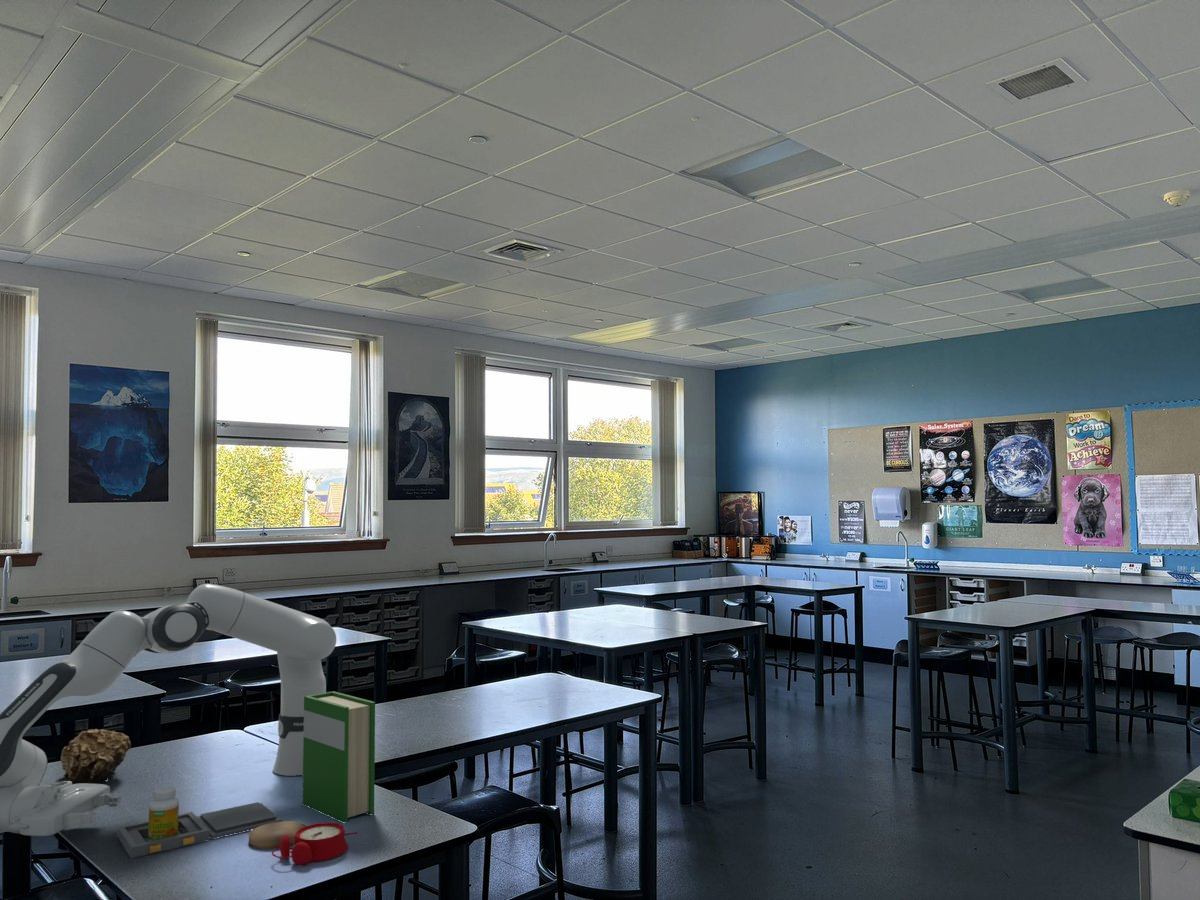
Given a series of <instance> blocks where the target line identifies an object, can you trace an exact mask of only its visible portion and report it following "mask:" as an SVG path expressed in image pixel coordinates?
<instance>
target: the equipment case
mask: <svg viewBox="0 0 1200 900" xmlns="http://www.w3.org/2000/svg"><path fill="white" fill-rule="evenodd" d="M281 821H283V819H282V818H281V817H280V816H279V815H277V814H276V813H275V812H274V811H272V810H271V809H270V808H269V807H267V806H266V805H264V804H263V803H262V802H258V801H256V802H252V803H248V804H244V805H243V804H242V805H239V806H233V807H229V808H224V809H219V810H214V811H210V812H205V813H201V814H200V815H197V816H196V814H195V813H194V812H193V811H188V812H184V813H179V817H178V828H181V829H180V830H181V832H182V831H183V832H184V833H183V832H182V833H178V835H174V836H169V837H165V838H160V839H156V840H151V841H149V840H148V841H146V840H145V839H144V837H146V836H145V835H148V833H149V820H146V821H141V822H137V823H132V824H127V825H122V826H118V827H117V838H118V840H119V841H120V843H121V844H122V846H123V848H124V849H125V850H126V852H127V853H128V855H129V856H130V858H131V859H134V858H140V857H143V856H147V855H148V856H149V855H151V854H156V853H161V852H164V851H169V850H174V849H177V848H183V847H186V846H187V847H188V846H191V845H195V844H194V843H196V844H199V843H198V842H200V843H203V842H202V841H204V842H207V841H206V840H209V841H210V839H211V838H212V839H213V840H215V839H214V838H217V837H221V836H225V835H230V834H234V833H239V832H243V831H247V830H251V829H255V828H257V827H259V826H262V825H265V824H269V823H274V822H281ZM243 833H244V832H243ZM239 834H240V833H239ZM142 836H144V837H142ZM209 836H210V837H211V838H210V837H209ZM230 836H231V835H230ZM212 839H211V840H212ZM217 839H218V838H217ZM190 844H191V845H190Z"/></svg>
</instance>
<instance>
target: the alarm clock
mask: <svg viewBox="0 0 1200 900" xmlns="http://www.w3.org/2000/svg"><path fill="white" fill-rule="evenodd" d="M357 834H358V832H357V831H355V832H348V833H346V829H345V826H344V825H343V824H340V823H337V822H321V823H320V822H319V823H313V824H309V825H306V827H303V828H301V829H300V830H298V831H297V832H296V835H295V844H294V845H293V847H291V846H290V841H289V836H288V834H287V835H284V836H283V837H282V838H281V841H280V846H279V847H277V848H276V849H273V850H272V851H271V855H272V856H273V857H274V858H277V859H291V861H292V862H293V863H294V864H295V865H296V864H297V866H299V865H304V866H306V865H309V863H316V862H315V861H318V862H323V861H322V860H324V861H329V860H332V858H333V859H335V858H334V857H336V858H338V857H339V855H340V856H342V855H343V853H344V852H345V853H346V852H347V851H348V849H349V843H348V842H347V840H346V836H349V835H357ZM279 850H280V856H278V855H276V854H275V853H274V852H276V851H279ZM346 850H347V851H346ZM345 853H344V854H345ZM290 854H291V855H290ZM341 854H342V855H341ZM337 856H338V857H337ZM328 859H329V860H328Z"/></svg>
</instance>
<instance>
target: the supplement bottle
mask: <svg viewBox="0 0 1200 900" xmlns="http://www.w3.org/2000/svg"><path fill="white" fill-rule="evenodd" d="M175 796H176V787H173V786H163V787H158V788H156V789H154V790H153V801H151V803H150V804H149V807H148V821H149V833H148V841H151V840H156V839H160V838H165V837H169V836H174V835H179V829H178V817H179V814H180V813H179V809H180V801H179V799H178V798H176V797H175Z"/></svg>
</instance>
